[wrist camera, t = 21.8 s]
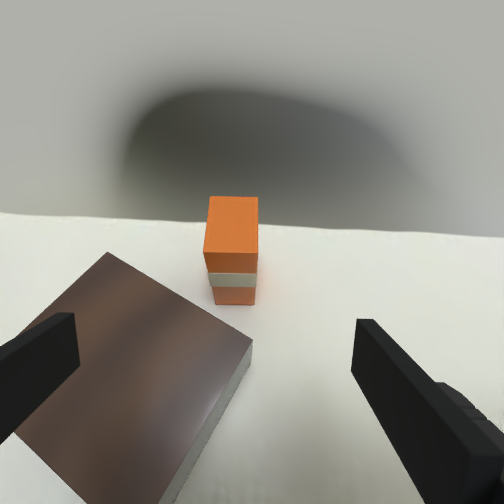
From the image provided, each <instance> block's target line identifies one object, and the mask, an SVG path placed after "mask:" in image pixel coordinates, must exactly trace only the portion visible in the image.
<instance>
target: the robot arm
mask: <svg viewBox="0 0 504 504" xmlns="http://www.w3.org/2000/svg"><path fill="white" fill-rule="evenodd" d="M80 366H81V364H80V356H79V348H78V340H77V332H76V324H75V316H74V313H71V312H57V313H55V314H54V315H52V316H50V317H49V318H47V319H45V320H44V321H42V322H40V323H39V324H37V325H35V326H34V327H32V328H30V329H29V330H27V331H25V332H24V333H22V334H20V335H19V336H17V337H15V338H14V339H12V340H10V341H8V342H7V343H5V344H3V345H2V346H0V445H1V444H2V443H3V442H4V441H5V440H6V439H7V438H8V437H9V436H10V435H11V434H12V433H13V432H14V431H15V430H16V429H17V428H18V427H19V426H20V425H21V424H22V423H23V422H24V421H25V420H26V419H27V418H28V417H29V416H30V415H31V414H32V413H33V412H34V411H35V410H36V409H37V408H38V407H39V406H40V405H41V404H42V403H43V402H44V401H45V400H46V399H47V398H48V397H49V396H50V395H51V394H52V393H53V392H54V391H55V390H56V389H57V388H58V387H59V386H60V385H61V384H62V383H63V382H64V381H65V380H66V379H67V378H68V377H69V376H71V375H72V374H73V373H74V372H75V371H76V370H77V369H78V368H79V367H80ZM351 372H352V374H353V376H354V378H355V379H356V381H357V383H358V385H359V387H360V388H361V390H362V392H363V394H364V396H365V397H366V399H367V401H368V403H369V404H370V406H371V408H372V410H373V412H374V413H375V415H376V417H377V419H378V420H379V422H380V424H381V426H382V428H383V429H384V431H385V433H386V435H387V437H388V438H389V440H390V442H391V444H392V445H393V447H394V449H395V451H396V453H397V454H398V456H399V458H400V460H401V461H402V463H403V465H404V467H405V469H406V470H407V472H408V474H409V476H410V478H411V479H412V481H413V483H414V485H415V486H416V488H417V490H418V492H419V494H420V495H421V497H422V499H423V501H424V502H425V504H504V433H503V432H501V431H500V430H499V429H498V428H497V427H496V426H495V425H494V424H493V423H492V422H491V421H490V420H487V417H486V416H485V415H484V414H482V413H481V412H480V411H479V410H478V409H476V408H475V406H474V405H473V404H472V403H471V402H470V401H469V400H468V399H467V398H466V397H464V396H463V395H462V394H461V393H460V392H458V391H457V390H455V389H453V388H452V387H450V386H449V385H447V384H445V383H443V382H434V381H433V380H432V379H431V378H430V377H429V376H428V375H427V374H426V372H425V371H424V370H423V369H422V368H421V367H420V366H419V365H418V364H417V363H416V362H415V361H414V360H413V359H412V358H411V357H410V356H409V355H408V354H407V353H406V352H405V351H404V350H403V349H402V348H401V347H400V346H399V345H398V344H397V343H396V342H395V341H394V340H393V339H392V338H391V337H390V336H389V335H388V334H387V333H386V332H385V331H384V330H383V329H382V328H381V327H380V326H379V325H378V323H377V322H376V321H375V320H374V319H357V321H356V330H355V339H354V348H353V357H352V366H351Z"/></svg>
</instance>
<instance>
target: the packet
mask: <svg viewBox="0 0 504 504" xmlns="http://www.w3.org/2000/svg"><path fill="white" fill-rule="evenodd" d="M203 254H204V258H205V262H206V266H207V270H208V277H209V281H210V285H211V287H212V291H213V295H214V299H215V303H216V304H222V305H254V301H255V288H256V281H257V262H258V197H223V196H211V197H210V202H209V210H208V217H207V225H206V232H205V240H204V248H203Z"/></svg>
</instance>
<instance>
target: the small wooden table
mask: <svg viewBox="0 0 504 504" xmlns="http://www.w3.org/2000/svg"><path fill="white" fill-rule="evenodd" d="M57 312H71V313H74V316H75V324H76V332H77V340H78V348H79V356H80V364H81V366H80V367H79V368H78V369H77V370H76V371H75V372H74V373H73V374H72V375H71V376H69V377H68V378H67V379H66V380H65V381H64V382H63V383H62V384H61V385H60V386H59V387H58V388H57V389H56V390H55V391H54V392H53V393H52V394H51V395H50V396H49V397H48V398H47V399H46V400H45V401H44V402H43V403H42V404H41V405H40V406H39V407H38V408H37V409H36V410H35V411H34V412H33V413H32V414H31V415H30V416H29V417H28V418H27V419H26V420H25V421H24V422H23V423H22V424H21V425H20V426H19V427H18V428H17V429H16V430H15V431H14V433H15V434H16V435H17V436H18V437H19V438H20V439H21V440H23V441H24V442H25V443H26V444H27V445H28V446H29V447H30V448H31V449H32V450H33V451H34V452H35V453H36V454H37V455H38V456H39V457H40V458H41V459H42V460H43V461H44V462H45V463H46V464H47V465H48V466H49V467H50V468H51V469H52V470H53V471H54V472H55V473H56V474H57V475H58V476H59V477H60V478H61V479H62V480H63V481H64V482H65V483H66V484H67V485H68V486H69V487H70V488H72V489H73V490H74V491H75V492H76V493H77V494H78V495H79V496H80V497H81V498H82V499H83V500H84V501H85V502H86V503H87V504H173V502H174V500H175V498H176V497H177V495H178V493H179V491H180V489H181V488H182V486H183V484H184V482H185V480H186V479H187V477H188V475H189V473H190V472H191V470H192V468H193V466H194V464H195V463H196V461H197V459H198V457H199V455H200V454H201V452H202V450H203V448H204V446H205V445H206V443H207V441H208V439H209V437H210V436H211V434H212V432H213V430H214V428H215V427H216V425H217V423H218V421H219V419H220V418H221V416H222V414H223V412H224V410H225V409H226V407H227V405H228V403H229V402H230V400H231V398H232V396H233V394H234V393H235V391H236V389H237V387H238V385H239V384H240V382H241V380H242V378H243V376H244V375H245V373H246V371H247V369H248V367H249V366H250V364H251V355H252V343H253V340H252V339H251V338H249V337H247V336H246V335H244V334H242V333H241V332H239V331H238V330H236V329H234V328H233V327H231V326H229V325H228V324H226V323H224V322H223V321H221V320H219V319H218V318H216V317H214V316H213V315H211V314H209V313H208V312H206V311H205V310H203V309H201V308H200V307H198V306H196V305H195V304H193V303H191V302H190V301H188V300H186V299H185V298H183V297H181V296H180V295H178V294H176V293H175V292H173V291H172V290H170V289H168V288H167V287H165V286H163V285H162V284H160V283H158V282H157V281H155V280H153V279H152V278H150V277H148V276H147V275H145V274H143V273H142V272H140V271H139V270H137V269H135V268H134V267H132V266H130V265H129V264H127V263H125V262H124V261H122V260H120V259H119V258H117V257H115V256H114V255H112V254H110V253H109V252H106V253H105V254H104V255H103V256H102V257H101V258H100V259H99V260H98V261H97V262H96V263H95V264H94V265H92V266H91V267H90V268H89V269H88V270H87V271H86V272H85V273H84V274H83V275H82V276H81V277H80V278H78V279H77V280H76V281H75V282H74V283H73V284H72V285H71V286H70V287H69V288H68V289H67V290H66V291H65V292H63V293H62V294H61V295H60V296H59V297H58V298H57V299H56V300H55V301H54V302H53V303H52V304H51V305H50V306H48V307H47V308H46V309H45V310H44V311H43V312H42V313H41V314H40V315H39V316H38V317H37V318H36V319H34V320H33V321H32V322H31V323H30V324H29V325H28V326H27V327H26V328H25V329H24V330H23V331H22V332H21V333H19V334H18V335H17V336H19V335H20V334H22V333H24V332H25V331H27V330H29V329H30V328H32V327H34V326H35V325H37V324H39V323H40V322H42V321H44V320H45V319H47V318H49V317H50V316H52V315H54V314H55V313H57ZM17 336H16V337H17Z"/></svg>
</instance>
